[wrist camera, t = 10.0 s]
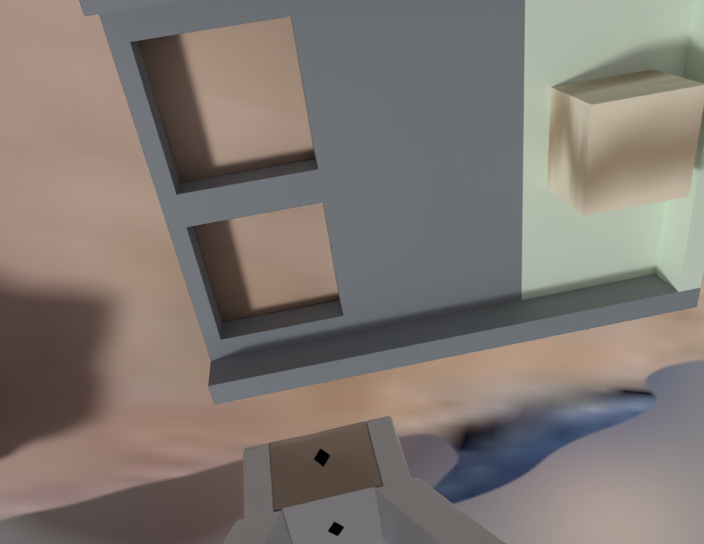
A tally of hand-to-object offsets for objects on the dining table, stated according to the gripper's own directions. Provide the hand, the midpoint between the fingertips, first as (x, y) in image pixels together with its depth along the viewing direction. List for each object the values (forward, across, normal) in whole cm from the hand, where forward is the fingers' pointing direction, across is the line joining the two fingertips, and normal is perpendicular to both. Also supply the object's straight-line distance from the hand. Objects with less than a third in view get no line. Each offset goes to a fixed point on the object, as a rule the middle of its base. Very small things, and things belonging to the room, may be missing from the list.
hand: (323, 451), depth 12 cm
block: (+22, -19, +4) cm, 29 cm away
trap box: (+24, -9, +4) cm, 26 cm away
